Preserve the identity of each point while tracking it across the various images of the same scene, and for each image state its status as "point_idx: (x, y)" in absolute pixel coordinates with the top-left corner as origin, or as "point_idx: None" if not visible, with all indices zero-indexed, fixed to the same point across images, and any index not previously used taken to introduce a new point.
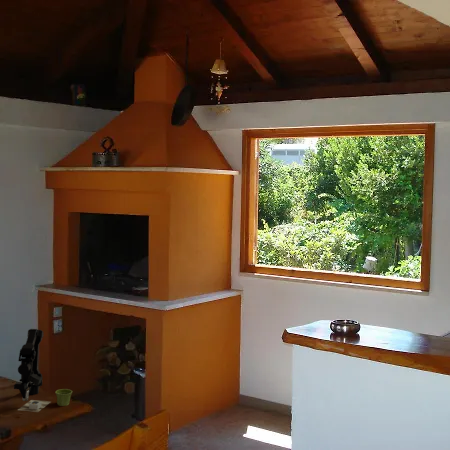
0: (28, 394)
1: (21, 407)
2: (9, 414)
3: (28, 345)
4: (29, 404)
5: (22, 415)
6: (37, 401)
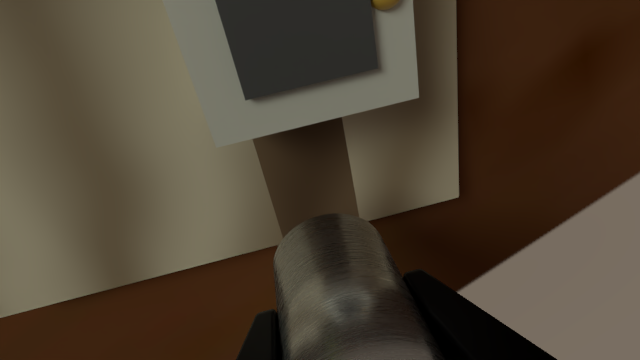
0: (320, 326)
1: None
2: (515, 210)
3: None
4: (414, 84)
5: (519, 53)
6: (177, 26)
